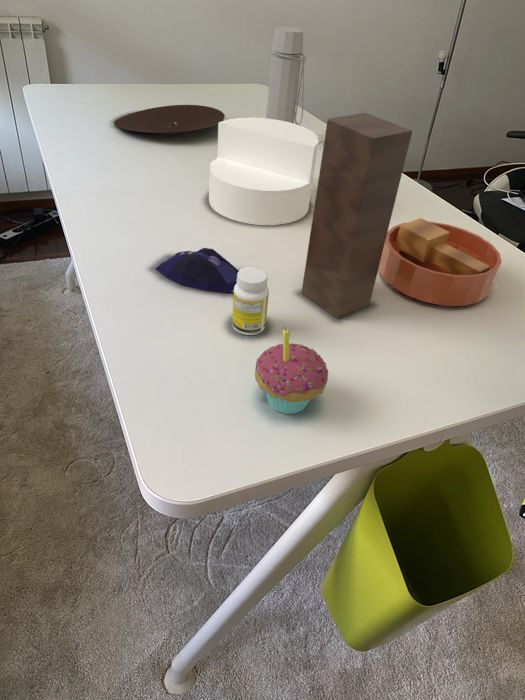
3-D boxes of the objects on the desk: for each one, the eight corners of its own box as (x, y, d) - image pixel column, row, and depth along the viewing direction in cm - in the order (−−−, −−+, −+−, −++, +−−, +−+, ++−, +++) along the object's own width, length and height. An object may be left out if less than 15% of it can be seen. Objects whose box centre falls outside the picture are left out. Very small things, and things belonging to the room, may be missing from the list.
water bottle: (259, 143, 137) (268, 29, 122) (268, 134, 143) (278, 24, 128) (295, 150, 136) (308, 35, 120) (302, 140, 142) (316, 30, 126)
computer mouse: (179, 249, 92) (179, 227, 90) (258, 275, 88) (260, 252, 86) (147, 273, 86) (146, 250, 83) (231, 302, 81) (233, 279, 79)
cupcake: (285, 436, 62) (298, 354, 54) (237, 394, 66) (243, 313, 59) (336, 404, 66) (355, 324, 59) (288, 367, 71) (300, 288, 63)
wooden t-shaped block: (489, 278, 87) (498, 255, 84) (470, 288, 84) (478, 265, 81) (414, 239, 95) (420, 217, 93) (394, 246, 92) (400, 225, 90)
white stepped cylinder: (189, 205, 106) (189, 135, 98) (240, 175, 120) (244, 111, 112) (281, 235, 100) (290, 162, 91) (324, 199, 114) (334, 133, 106)
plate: (152, 104, 155) (151, 90, 153) (242, 124, 148) (242, 110, 146) (90, 129, 135) (89, 114, 133) (191, 154, 128) (191, 138, 125)
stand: (369, 305, 84) (412, 130, 68) (337, 319, 80) (374, 138, 64) (333, 281, 89) (365, 112, 72) (301, 293, 85) (327, 118, 69)
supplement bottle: (246, 312, 80) (250, 261, 75) (272, 326, 78) (278, 274, 72) (224, 325, 77) (227, 274, 72) (250, 340, 75) (254, 288, 69)
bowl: (483, 263, 98) (494, 232, 94) (493, 319, 84) (507, 286, 80) (380, 244, 100) (388, 214, 96) (374, 297, 86) (383, 263, 82)
